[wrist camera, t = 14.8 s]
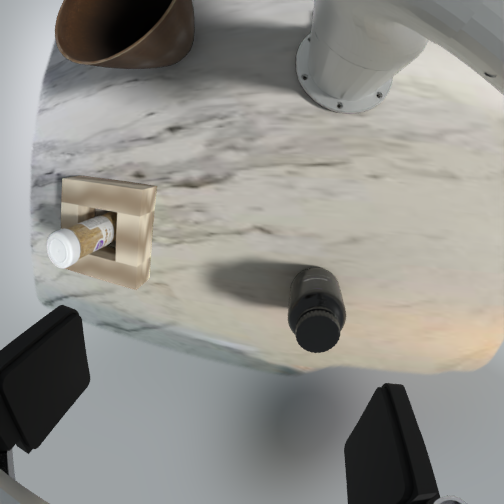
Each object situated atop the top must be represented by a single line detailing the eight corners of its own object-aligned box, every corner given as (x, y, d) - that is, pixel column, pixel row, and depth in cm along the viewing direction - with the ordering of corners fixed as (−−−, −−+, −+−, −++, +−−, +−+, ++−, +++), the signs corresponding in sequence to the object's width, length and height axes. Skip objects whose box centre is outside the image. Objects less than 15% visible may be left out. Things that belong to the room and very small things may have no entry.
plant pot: (143, -1, 33) (87, -46, 18) (235, 5, 32) (204, -58, 17) (111, 83, 38) (38, 63, 22) (201, 98, 37) (147, 69, 22)
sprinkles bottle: (123, 244, 45) (69, 275, 32) (99, 233, 45) (43, 260, 32) (129, 216, 43) (73, 240, 31) (105, 206, 43) (46, 226, 31)
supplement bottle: (319, 255, 41) (327, 293, 30) (348, 292, 42) (363, 338, 31) (279, 285, 43) (273, 330, 32) (309, 319, 44) (311, 370, 33)
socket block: (80, 175, 42) (62, 178, 38) (156, 186, 41) (142, 189, 37) (78, 258, 47) (62, 267, 43) (149, 278, 46) (136, 290, 41)
